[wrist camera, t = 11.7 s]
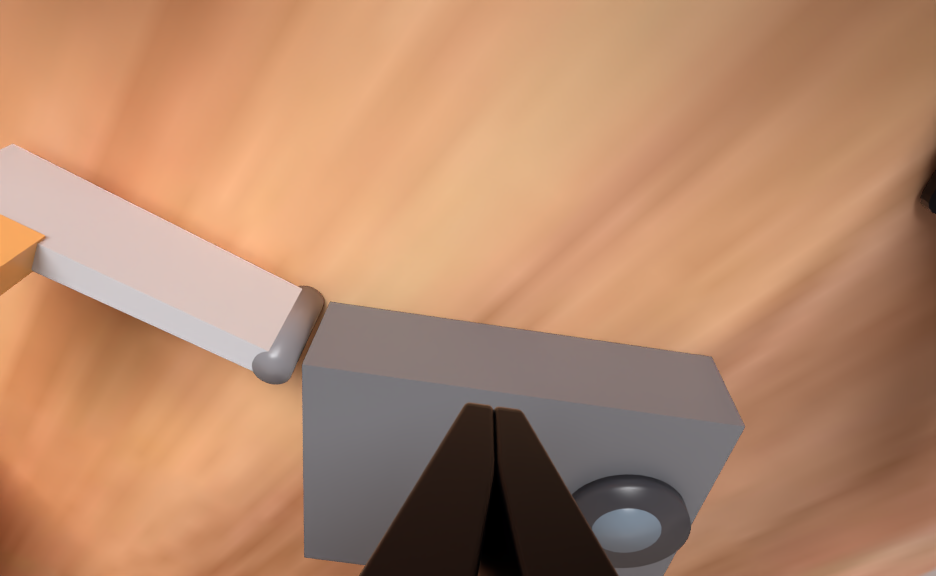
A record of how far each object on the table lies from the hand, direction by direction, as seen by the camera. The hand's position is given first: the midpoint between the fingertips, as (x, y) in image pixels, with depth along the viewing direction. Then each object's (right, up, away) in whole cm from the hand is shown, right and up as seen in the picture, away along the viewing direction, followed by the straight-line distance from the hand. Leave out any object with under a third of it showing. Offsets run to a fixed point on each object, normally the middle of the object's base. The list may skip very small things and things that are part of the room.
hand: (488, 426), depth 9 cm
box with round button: (+1, -4, +15) cm, 16 cm away
